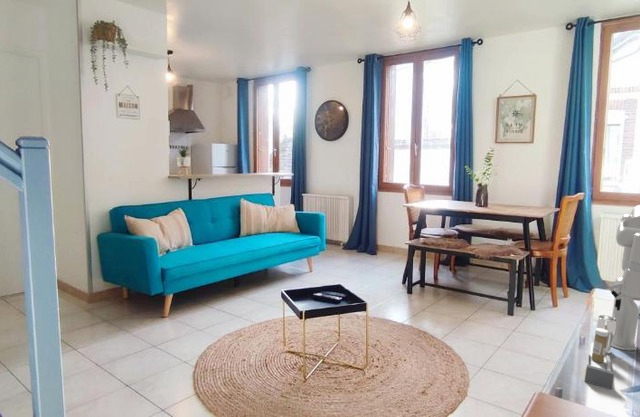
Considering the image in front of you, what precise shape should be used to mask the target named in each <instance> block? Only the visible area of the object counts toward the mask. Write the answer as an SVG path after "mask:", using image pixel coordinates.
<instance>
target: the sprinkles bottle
mask: <svg viewBox="0 0 640 417" xmlns="http://www.w3.org/2000/svg"><path fill="white" fill-rule="evenodd" d="M608 333H609V332H608V331H607V330H605V329H602V328H595V331H594V334H595V335H594V339H593V345H592V354H591V360H592V361H594V362H597V363H604V362H605V355H606V354H605V350H606V342H607V337H608Z"/></svg>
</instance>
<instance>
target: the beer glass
mask: <svg viewBox="0 0 640 417" xmlns="http://www.w3.org/2000/svg"><path fill="white" fill-rule="evenodd" d="M616 322H617V320H616V319H615V318H613V317H612V316H610V315H604V314H601V315H598V319H597V322H596V328H602V329H605V330H607V331H608V332H609V333H608V337H607V342H606V350H605V355H607V354H611V353H612V348H611V347H612V346H611V342H612V340H613V337H614V335H615V331H616ZM596 328H595V329H596Z"/></svg>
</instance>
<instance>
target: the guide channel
mask: <svg viewBox="0 0 640 417" xmlns="http://www.w3.org/2000/svg"><path fill="white" fill-rule="evenodd" d="M589 353H590V351H589V350H585V363H584V382H585V383H588V384H592V385H595V386H598V387H603V388H606V389H610V390H612V389H613V382H614V379H615V378H614V377H615V372H614V371H612V368H611V367H612V366H611V357H610V356H611V355H607V354H606V357H605V358H606V359H605V360H606V369H605V368H600V367H597V366H593V365H589V364H590V363H589V360H590V354H589Z"/></svg>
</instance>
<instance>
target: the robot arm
mask: <svg viewBox="0 0 640 417" xmlns="http://www.w3.org/2000/svg"><path fill="white" fill-rule="evenodd" d="M615 239H616V240H615V241H616V243H617V245H619V246H620V247H623V254H622V259H621V270H622V271H623V274H622V276H619V277H617V278H616V279H615V281H614V283H613V284H609V285H608V289H609V291H610V293H611V295H613V297H614V300H613V308H612V314H611V317H613V318H615V319H616V320H617V322H616V331H615V335H614V337H613V340H612V342H611V347H613V348H614V349H618V350H621V351H622V350H623V351H626V352H628V351H629V352H632V351H631V350H635V349H636V347H635V344H636V343H635V338H636V334H637V327H638V321H639V316H640V308H639V306H638V304H637V303H636V302H635V301H640V204H637V205H636V206H634V207H633V208H632V209H631V213H625V214H623V216H622V217H621V218H620V223H619V224H618V226H617V228H616V238H615ZM634 343H635V344H634ZM635 351H636V350H635Z"/></svg>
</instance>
